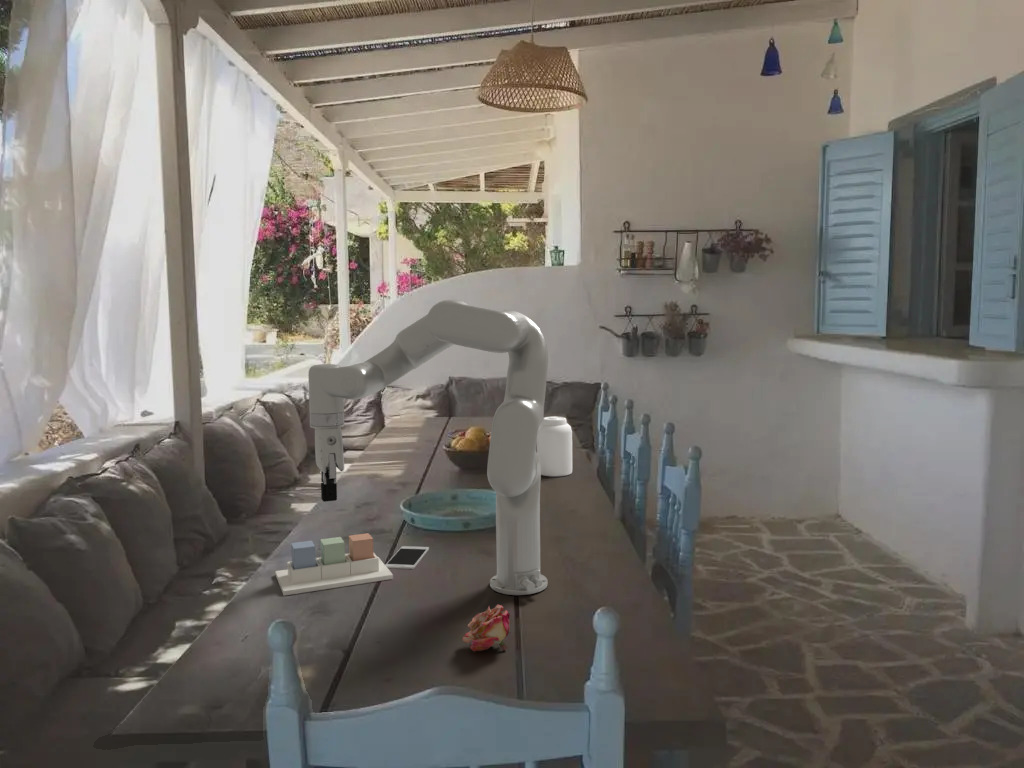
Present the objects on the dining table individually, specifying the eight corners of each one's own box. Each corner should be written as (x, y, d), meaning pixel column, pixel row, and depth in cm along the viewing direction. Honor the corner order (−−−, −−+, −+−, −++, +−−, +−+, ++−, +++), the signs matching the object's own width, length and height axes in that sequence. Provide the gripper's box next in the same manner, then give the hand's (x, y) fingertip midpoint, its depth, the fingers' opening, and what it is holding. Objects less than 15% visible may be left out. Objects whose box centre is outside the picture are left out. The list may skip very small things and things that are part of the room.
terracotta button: (373, 559, 186) (372, 538, 185) (353, 562, 184) (352, 541, 184) (369, 553, 190) (368, 533, 190) (349, 556, 188) (348, 535, 188)
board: (393, 578, 183) (392, 561, 183) (283, 595, 174) (282, 577, 174) (378, 560, 196) (377, 544, 196) (275, 575, 187) (274, 558, 186)
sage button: (345, 563, 183) (344, 542, 183) (324, 566, 182) (323, 545, 181) (341, 557, 188) (340, 536, 187) (321, 560, 186) (320, 539, 185)
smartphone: (429, 550, 205) (429, 546, 205) (413, 570, 190) (413, 566, 190) (402, 549, 206) (401, 545, 206) (383, 569, 191) (383, 565, 191)
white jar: (531, 471, 291) (530, 416, 289) (562, 468, 297) (561, 413, 294) (547, 478, 280) (546, 421, 278) (578, 474, 285) (578, 418, 283)
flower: (523, 629, 150) (498, 594, 151) (526, 640, 141) (499, 603, 142) (481, 661, 150) (456, 626, 150) (481, 674, 140) (454, 636, 141)
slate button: (316, 567, 181) (315, 546, 180) (295, 570, 179) (293, 548, 179) (312, 561, 185) (311, 540, 185) (292, 564, 183) (291, 543, 183)
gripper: (350, 423, 176) (352, 506, 178) (337, 414, 189) (339, 491, 191) (315, 426, 173) (318, 510, 175) (304, 416, 186) (307, 494, 188)
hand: (329, 500), depth 183 cm, fingers closed
